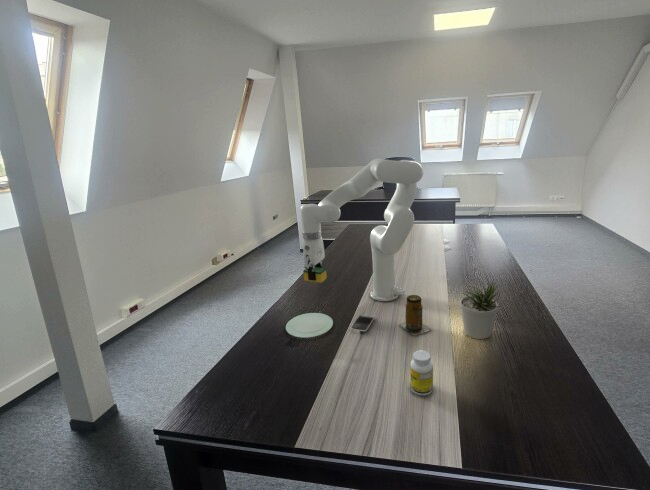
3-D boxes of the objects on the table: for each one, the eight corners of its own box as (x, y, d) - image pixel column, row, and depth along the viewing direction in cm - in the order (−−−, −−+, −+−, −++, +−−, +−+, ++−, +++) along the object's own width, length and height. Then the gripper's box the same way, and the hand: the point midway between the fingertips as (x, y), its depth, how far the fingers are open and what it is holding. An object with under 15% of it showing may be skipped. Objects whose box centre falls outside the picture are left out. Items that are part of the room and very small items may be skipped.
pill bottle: (408, 382, 105) (407, 349, 102) (429, 380, 105) (429, 347, 102) (413, 397, 99) (413, 363, 96) (435, 395, 99) (436, 360, 96)
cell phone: (349, 332, 133) (349, 328, 132) (360, 317, 142) (360, 314, 142) (365, 334, 130) (365, 331, 130) (375, 319, 140) (375, 316, 140)
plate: (340, 319, 142) (340, 316, 142) (319, 344, 126) (319, 341, 126) (301, 312, 149) (300, 310, 148) (276, 335, 133) (276, 332, 132)
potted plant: (480, 348, 119) (483, 293, 113) (451, 330, 130) (452, 278, 125) (507, 337, 124) (511, 284, 118) (476, 320, 136) (479, 271, 130)
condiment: (416, 320, 138) (416, 291, 134) (430, 330, 131) (430, 300, 127) (400, 325, 135) (399, 296, 131) (413, 336, 128) (413, 305, 124)
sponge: (326, 278, 150) (326, 268, 149) (321, 282, 146) (320, 272, 144) (309, 276, 153) (309, 266, 152) (304, 280, 149) (303, 270, 147)
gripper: (310, 242, 135) (313, 286, 140) (329, 230, 150) (332, 270, 155) (292, 240, 138) (297, 284, 143) (313, 229, 153) (316, 269, 158)
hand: (315, 276), depth 149 cm, fingers closed on sponge, 5 cm apart
